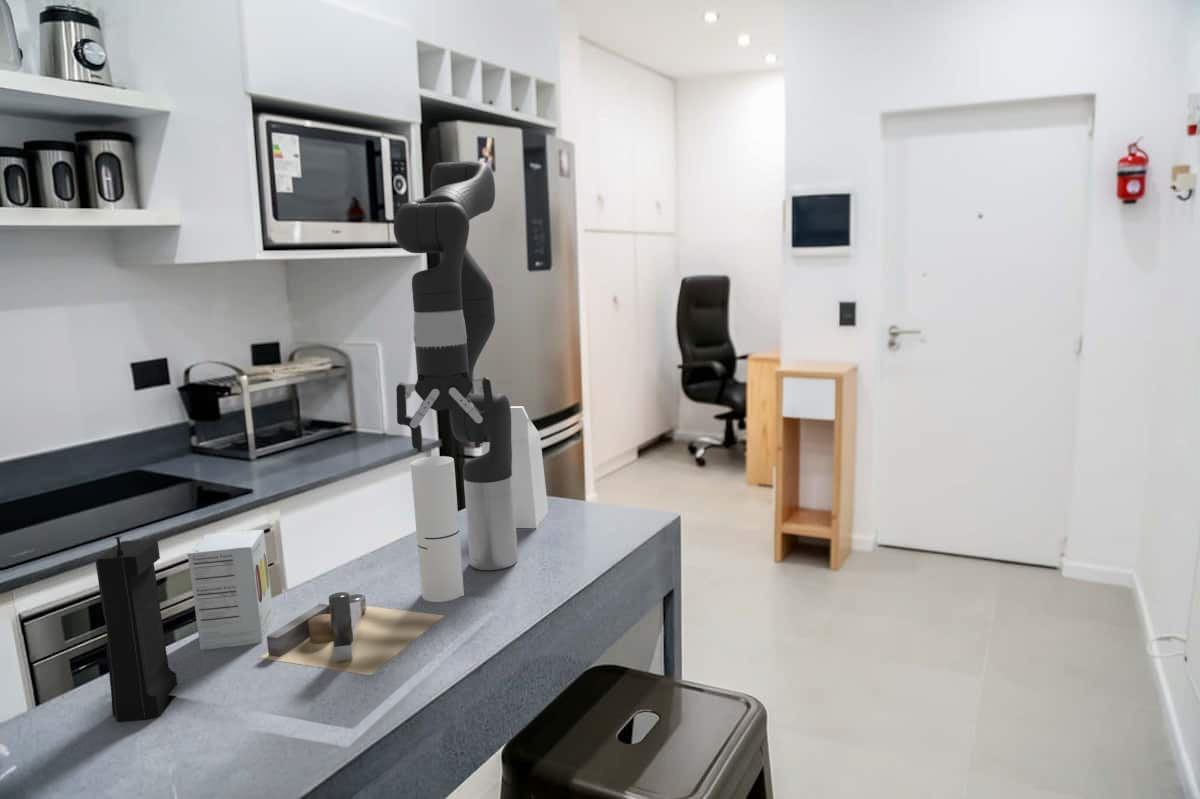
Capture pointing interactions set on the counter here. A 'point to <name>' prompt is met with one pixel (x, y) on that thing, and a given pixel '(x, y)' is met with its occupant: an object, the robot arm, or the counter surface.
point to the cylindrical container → (437, 528)
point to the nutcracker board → (374, 644)
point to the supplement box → (231, 589)
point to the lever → (345, 622)
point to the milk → (526, 470)
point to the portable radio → (134, 631)
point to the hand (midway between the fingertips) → (448, 448)
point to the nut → (320, 629)
